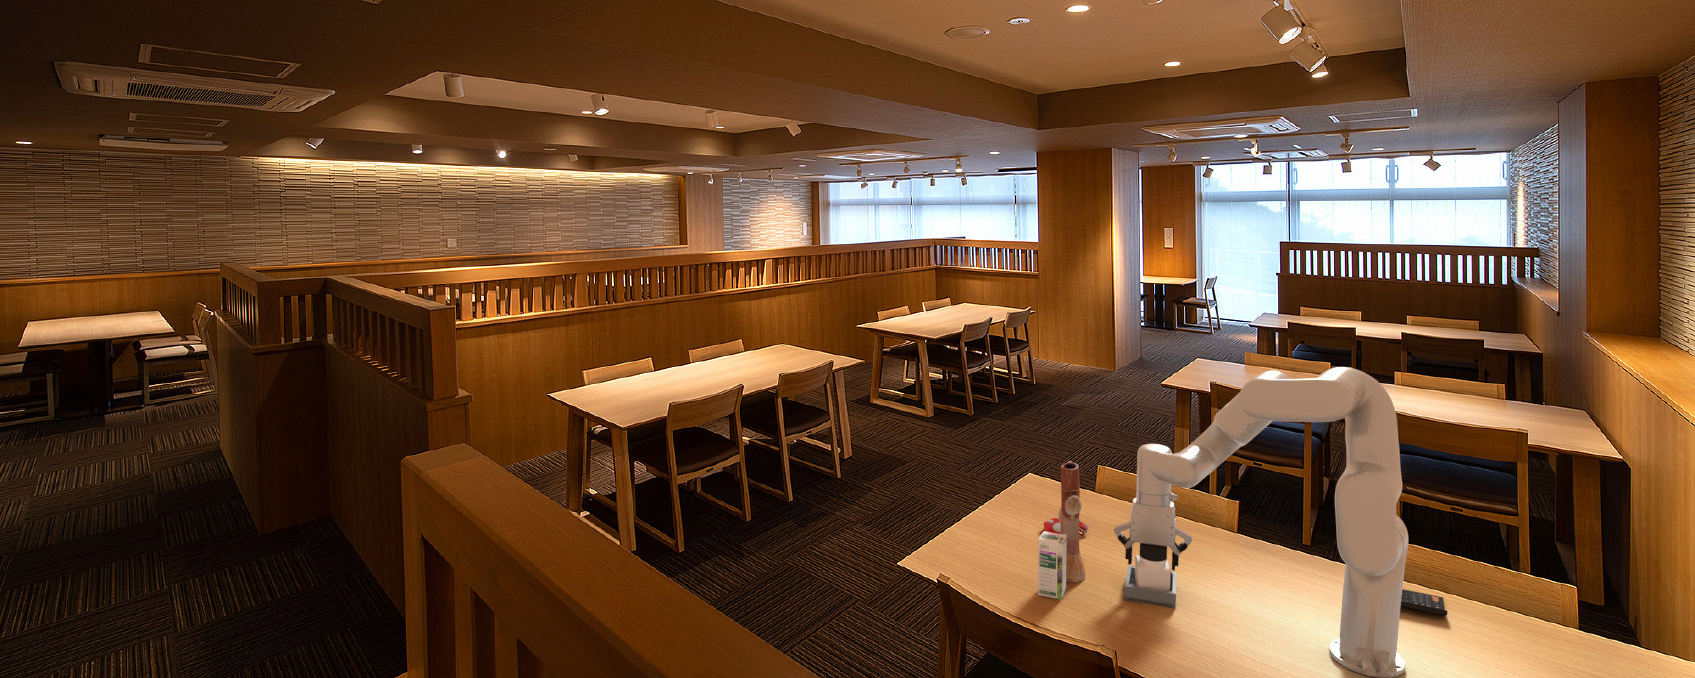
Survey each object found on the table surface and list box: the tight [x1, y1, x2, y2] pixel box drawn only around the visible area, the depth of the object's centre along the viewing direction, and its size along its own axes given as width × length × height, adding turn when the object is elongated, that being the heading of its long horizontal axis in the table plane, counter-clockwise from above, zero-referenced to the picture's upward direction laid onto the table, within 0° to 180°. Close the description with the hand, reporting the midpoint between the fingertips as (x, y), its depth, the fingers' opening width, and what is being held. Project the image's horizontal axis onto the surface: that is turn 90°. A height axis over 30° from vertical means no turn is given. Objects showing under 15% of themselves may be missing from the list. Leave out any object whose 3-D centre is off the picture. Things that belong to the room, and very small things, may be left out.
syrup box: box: [1037, 531, 1067, 601], centre depth 184 cm, size 6×6×14 cm
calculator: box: [1401, 588, 1448, 616], centre depth 173 cm, size 9×12×3 cm
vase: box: [1058, 460, 1086, 583], centre depth 190 cm, size 11×7×30 cm
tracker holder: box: [1043, 517, 1090, 534], centre depth 218 cm, size 12×4×10 cm
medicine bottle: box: [1134, 543, 1172, 592], centre depth 182 cm, size 7×7×12 cm
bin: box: [1124, 565, 1177, 609], centre depth 183 cm, size 11×11×4 cm
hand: (1151, 565), depth 182 cm, fingers open, 9 cm apart
